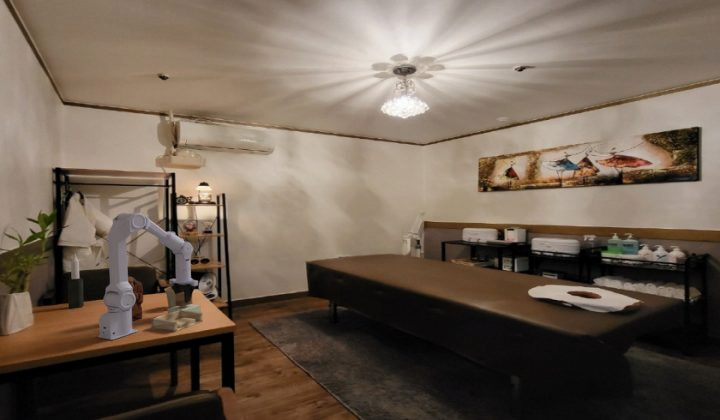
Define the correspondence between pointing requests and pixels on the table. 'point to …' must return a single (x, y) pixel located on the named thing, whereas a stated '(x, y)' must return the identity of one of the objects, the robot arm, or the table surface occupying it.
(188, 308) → the sage stand
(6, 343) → the table surface
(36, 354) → the table surface
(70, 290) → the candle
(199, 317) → the birch box
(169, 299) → the flower pot
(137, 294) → the wooden figurine
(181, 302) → the walnut block
